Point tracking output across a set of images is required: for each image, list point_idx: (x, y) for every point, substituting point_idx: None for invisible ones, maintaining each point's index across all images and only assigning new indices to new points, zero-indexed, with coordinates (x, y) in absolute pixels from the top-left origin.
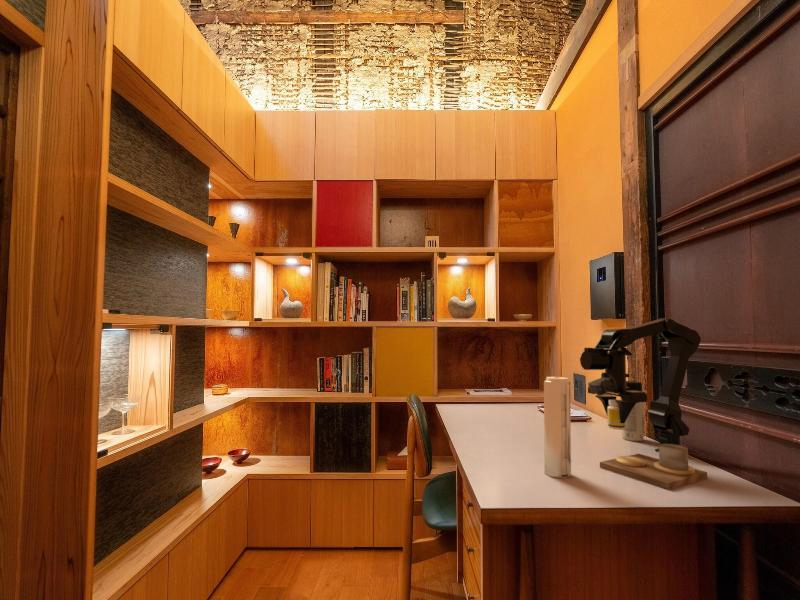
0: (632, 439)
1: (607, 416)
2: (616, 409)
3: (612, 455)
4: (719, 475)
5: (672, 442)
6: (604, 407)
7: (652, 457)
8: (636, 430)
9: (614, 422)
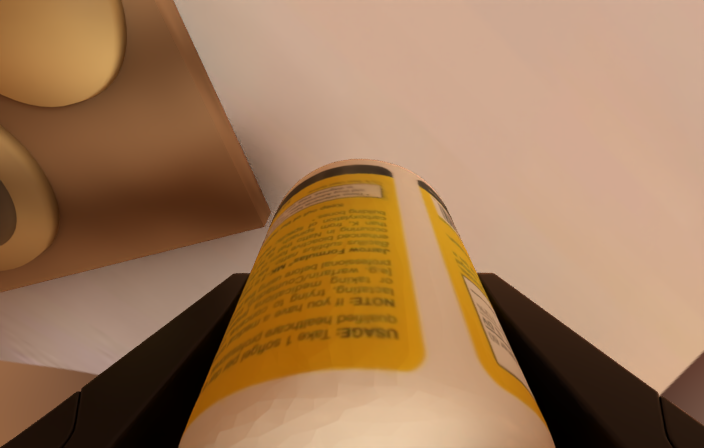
0: None
1: (514, 290)
2: (192, 430)
3: (355, 106)
4: (55, 340)
5: None
6: (670, 413)
7: (189, 243)
8: None
9: (290, 214)
